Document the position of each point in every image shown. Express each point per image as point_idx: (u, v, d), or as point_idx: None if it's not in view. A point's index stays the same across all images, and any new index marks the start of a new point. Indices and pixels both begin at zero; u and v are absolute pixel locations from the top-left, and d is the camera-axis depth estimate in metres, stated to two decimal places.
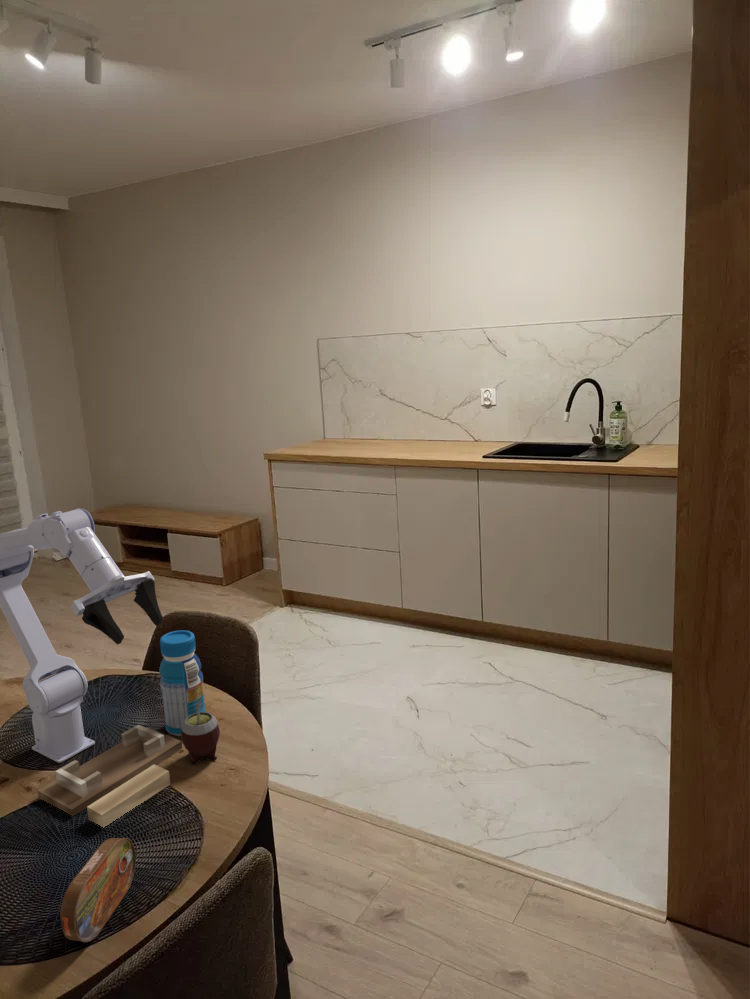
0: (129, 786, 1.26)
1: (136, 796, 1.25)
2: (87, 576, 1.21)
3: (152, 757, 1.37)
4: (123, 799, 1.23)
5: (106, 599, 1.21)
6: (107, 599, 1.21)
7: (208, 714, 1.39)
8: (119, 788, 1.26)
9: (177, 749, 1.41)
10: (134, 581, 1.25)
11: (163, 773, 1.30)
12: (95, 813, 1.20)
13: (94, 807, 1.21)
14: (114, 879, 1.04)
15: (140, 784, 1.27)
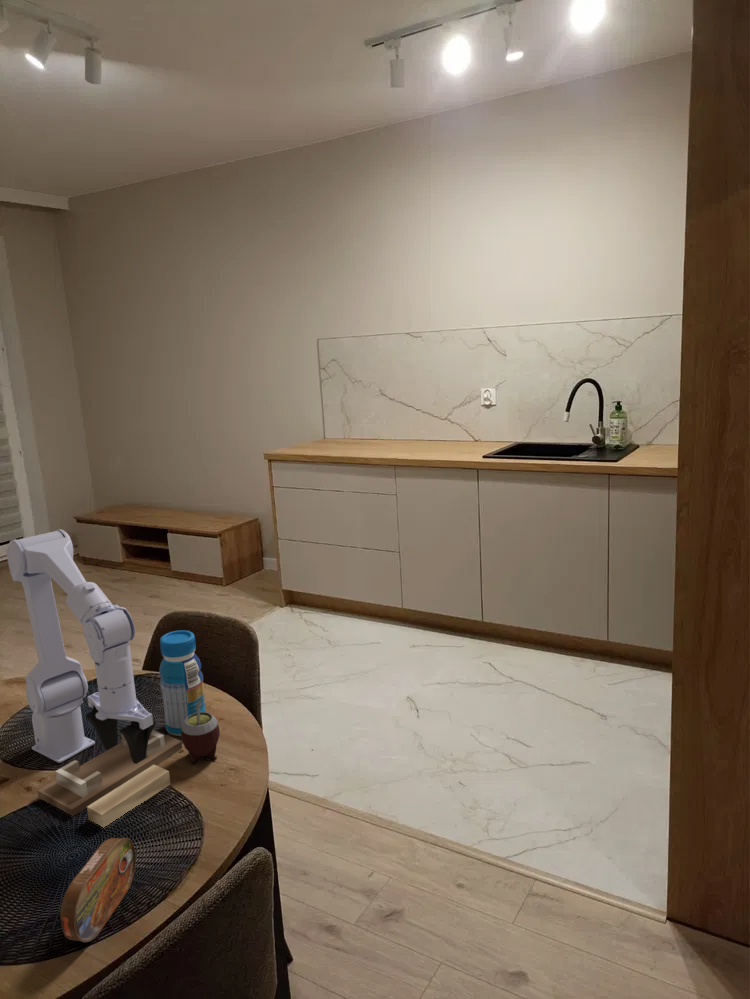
0: (129, 786, 1.26)
1: (136, 796, 1.25)
2: None
3: (152, 757, 1.37)
4: (123, 799, 1.23)
5: None
6: None
7: (208, 714, 1.39)
8: (119, 788, 1.26)
9: (177, 749, 1.41)
10: None
11: (163, 773, 1.30)
12: (95, 813, 1.20)
13: (94, 807, 1.21)
14: (114, 879, 1.04)
15: (140, 784, 1.27)
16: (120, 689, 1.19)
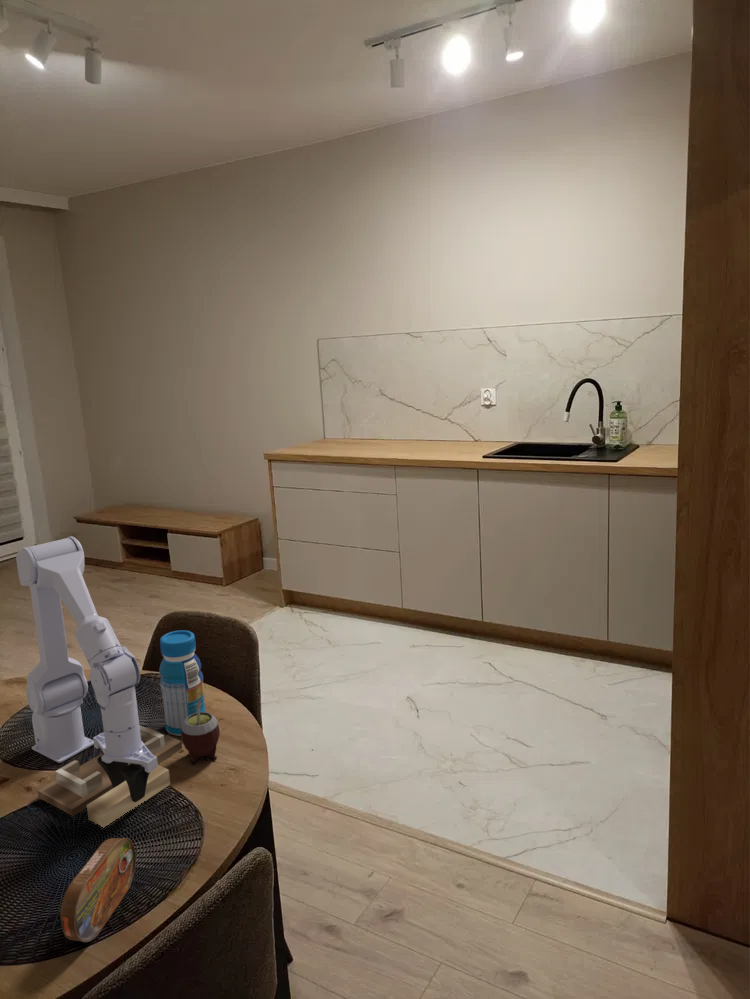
0: None
1: None
2: None
3: None
4: (123, 797, 1.23)
5: None
6: None
7: (208, 714, 1.39)
8: (119, 786, 1.26)
9: (177, 749, 1.41)
10: None
11: (163, 772, 1.30)
12: (95, 811, 1.20)
13: (94, 805, 1.21)
14: (114, 879, 1.04)
15: None
16: (125, 732, 1.21)
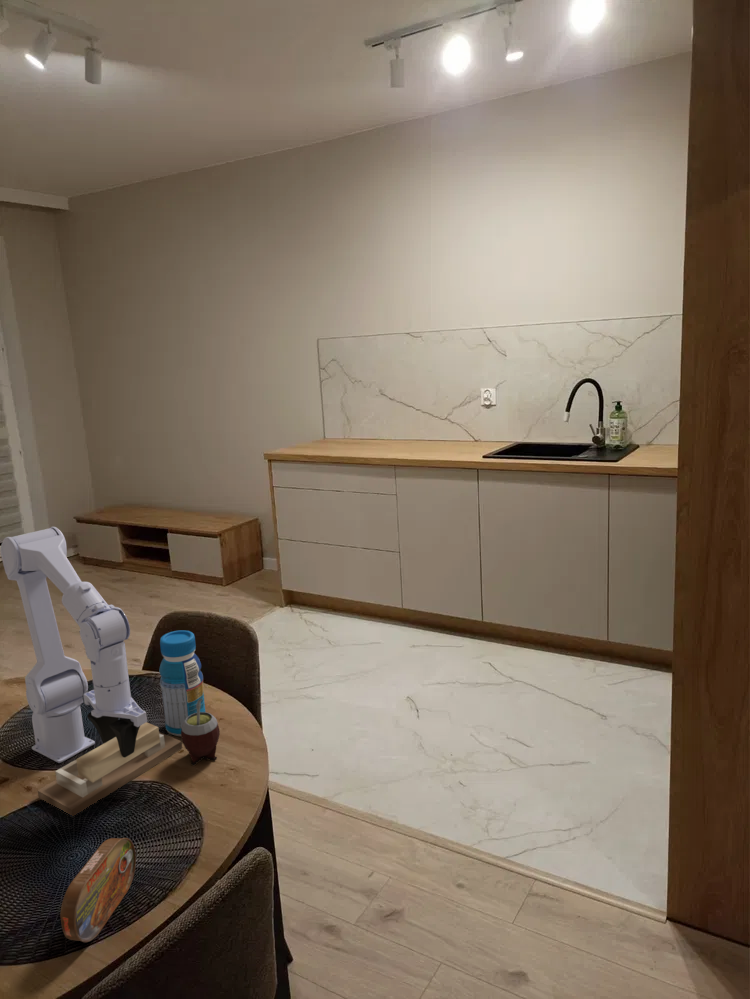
0: None
1: None
2: None
3: (152, 757, 1.37)
4: (112, 752, 1.24)
5: None
6: None
7: (208, 714, 1.39)
8: (109, 742, 1.27)
9: (177, 749, 1.41)
10: None
11: (153, 729, 1.31)
12: (84, 765, 1.21)
13: (83, 759, 1.22)
14: (114, 879, 1.04)
15: None
16: (115, 687, 1.22)
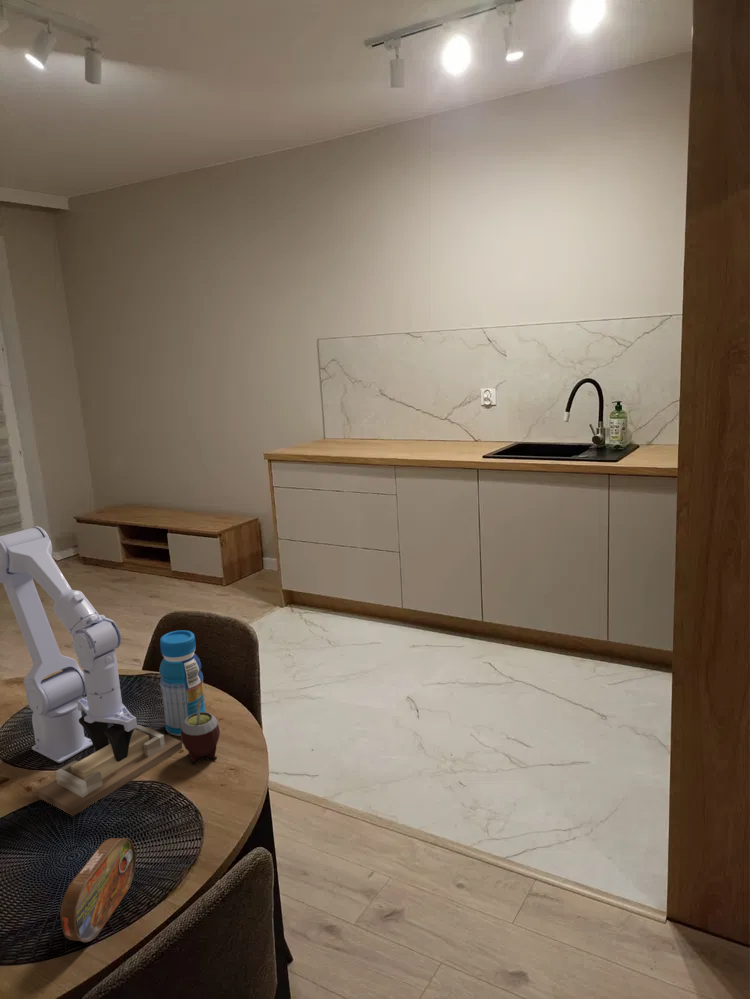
0: (111, 748, 1.35)
1: None
2: None
3: (152, 757, 1.37)
4: (105, 759, 1.31)
5: None
6: None
7: (208, 714, 1.39)
8: (101, 750, 1.34)
9: (177, 749, 1.41)
10: None
11: (143, 737, 1.38)
12: (78, 771, 1.28)
13: (77, 766, 1.29)
14: (114, 879, 1.04)
15: None
16: (107, 694, 1.29)
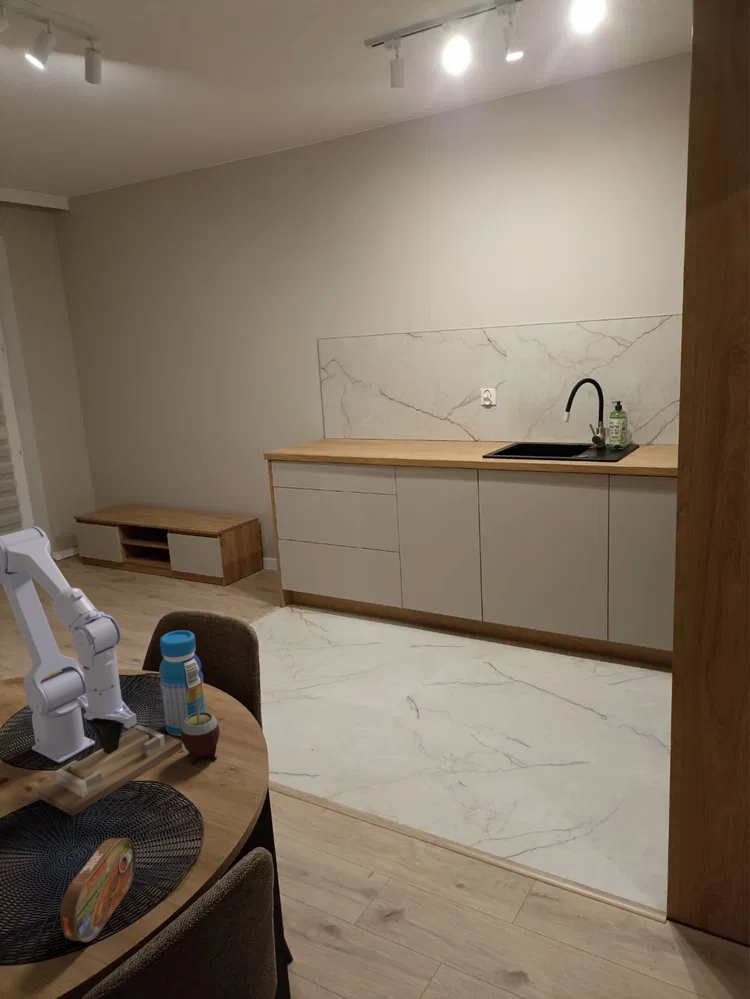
0: None
1: (117, 757, 1.33)
2: None
3: (152, 757, 1.37)
4: (105, 759, 1.31)
5: None
6: None
7: (208, 714, 1.39)
8: (101, 750, 1.34)
9: (177, 749, 1.41)
10: None
11: (143, 737, 1.38)
12: (78, 771, 1.28)
13: (77, 766, 1.29)
14: (114, 879, 1.04)
15: (121, 747, 1.35)
16: (106, 691, 1.29)
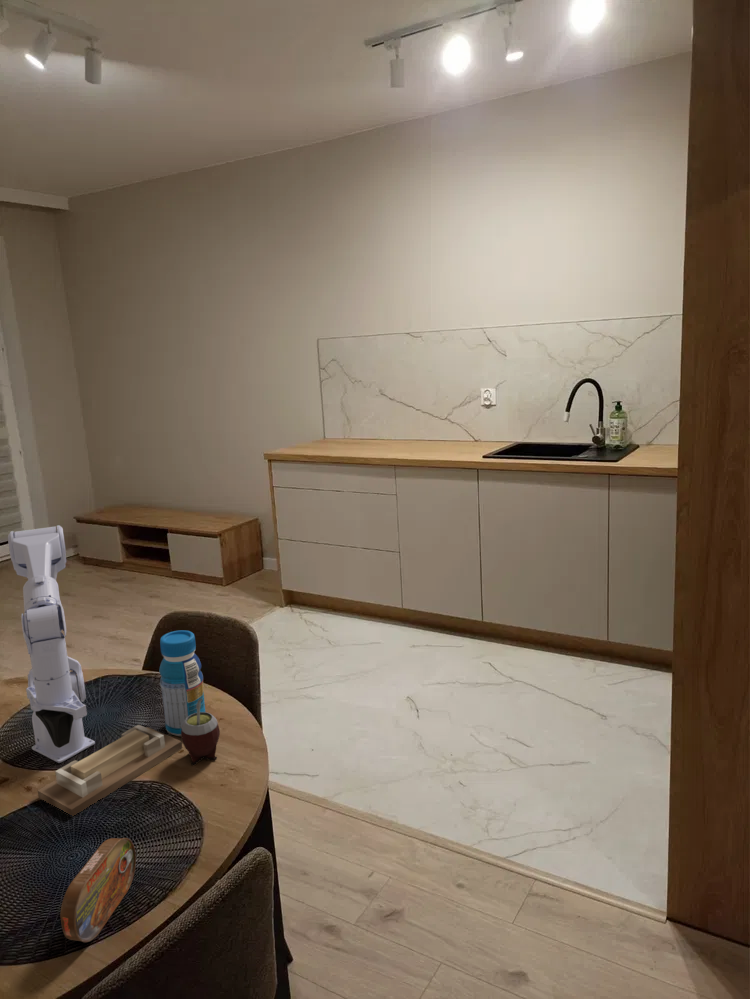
0: (111, 748, 1.35)
1: (117, 757, 1.33)
2: None
3: (152, 757, 1.37)
4: (105, 759, 1.31)
5: None
6: None
7: (208, 714, 1.39)
8: (101, 750, 1.34)
9: (177, 749, 1.41)
10: None
11: (143, 737, 1.38)
12: (78, 771, 1.28)
13: (77, 766, 1.29)
14: (114, 879, 1.04)
15: (121, 747, 1.35)
16: (54, 681, 1.22)
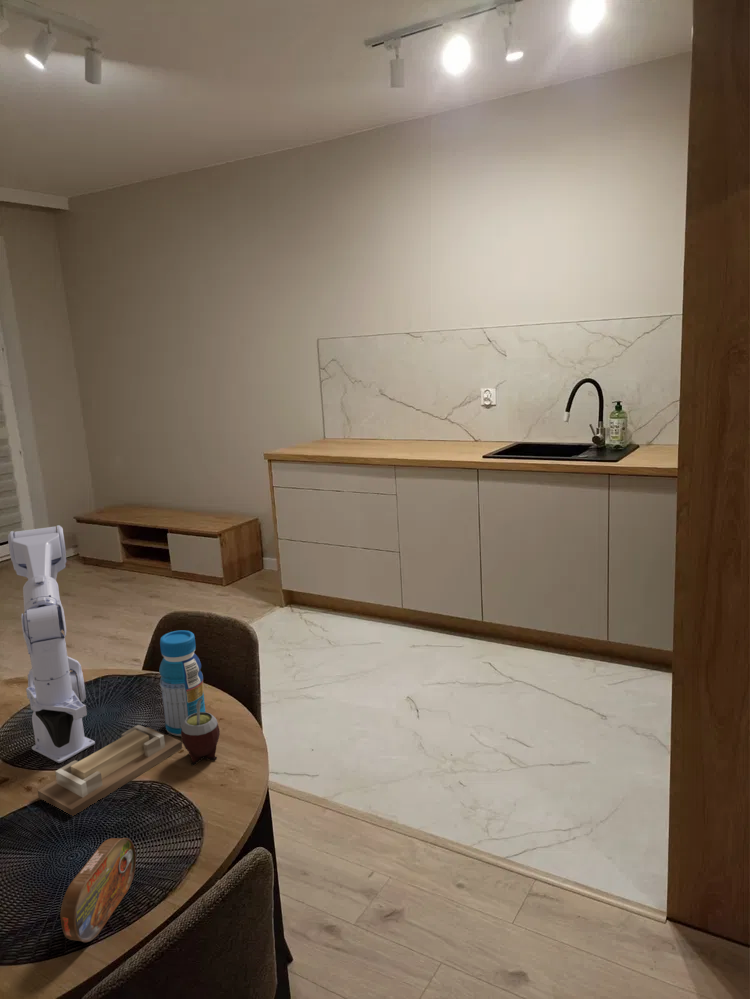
0: (111, 748, 1.35)
1: (117, 757, 1.33)
2: None
3: (152, 757, 1.37)
4: (105, 759, 1.31)
5: None
6: None
7: (208, 714, 1.39)
8: (101, 750, 1.34)
9: (177, 749, 1.41)
10: None
11: (143, 737, 1.38)
12: (78, 771, 1.28)
13: (77, 766, 1.29)
14: (114, 879, 1.04)
15: (121, 747, 1.35)
16: (54, 681, 1.22)
